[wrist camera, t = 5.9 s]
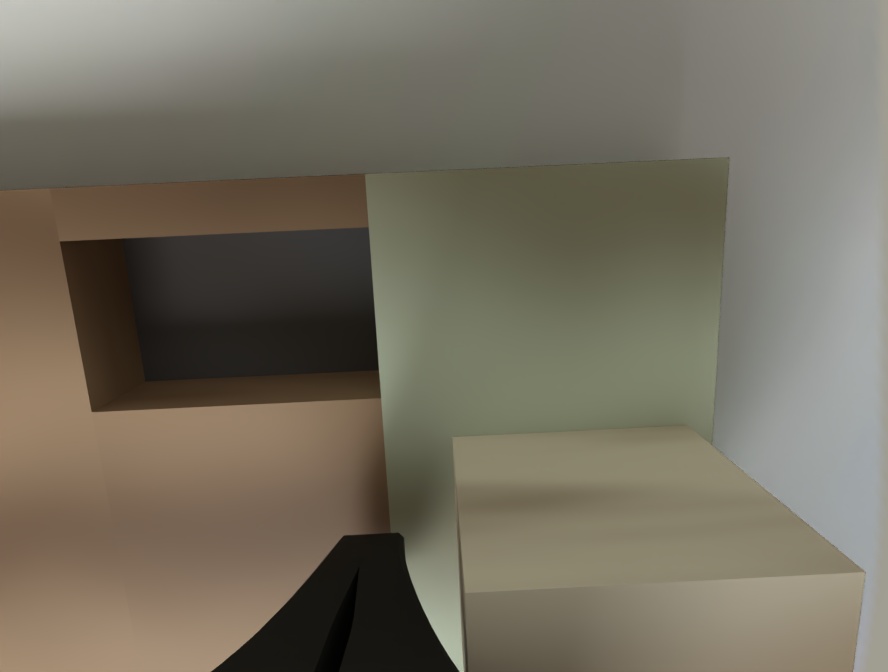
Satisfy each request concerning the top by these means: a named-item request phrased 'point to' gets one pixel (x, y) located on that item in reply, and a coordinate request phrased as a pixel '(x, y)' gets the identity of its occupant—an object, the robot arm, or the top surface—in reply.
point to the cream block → (640, 560)
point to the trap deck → (313, 379)
